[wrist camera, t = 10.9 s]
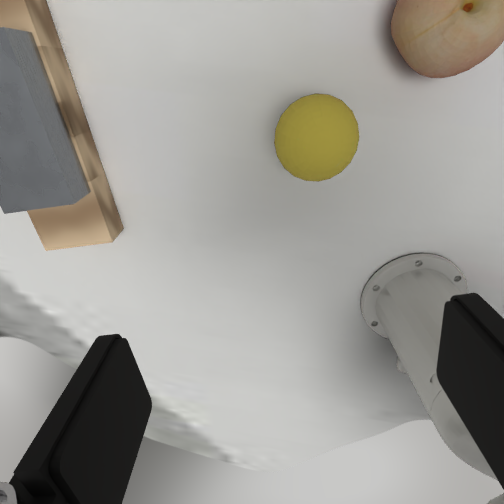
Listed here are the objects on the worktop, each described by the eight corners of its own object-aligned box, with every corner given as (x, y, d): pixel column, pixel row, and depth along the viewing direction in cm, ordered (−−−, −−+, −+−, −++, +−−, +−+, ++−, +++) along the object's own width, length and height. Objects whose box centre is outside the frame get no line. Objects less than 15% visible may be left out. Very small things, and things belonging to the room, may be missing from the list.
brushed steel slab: (102, 182, 35) (74, 204, 30) (43, 190, 36) (4, 213, 30) (51, 35, 29) (3, 26, 24) (-19, 47, 30) (-84, 41, 24)
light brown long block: (123, 228, 38) (112, 242, 35) (62, 236, 39) (45, 250, 36) (30, -45, 27) (2, -60, 24) (-55, -30, 28) (-93, -43, 24)
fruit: (464, -56, 27) (540, -101, 20) (479, 50, 30) (549, 43, 23) (367, -2, 29) (406, -26, 22) (392, 92, 32) (433, 98, 25)
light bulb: (325, 168, 35) (351, 200, 26) (262, 153, 35) (267, 181, 26) (348, 99, 32) (385, 109, 23) (279, 81, 32) (291, 85, 23)
